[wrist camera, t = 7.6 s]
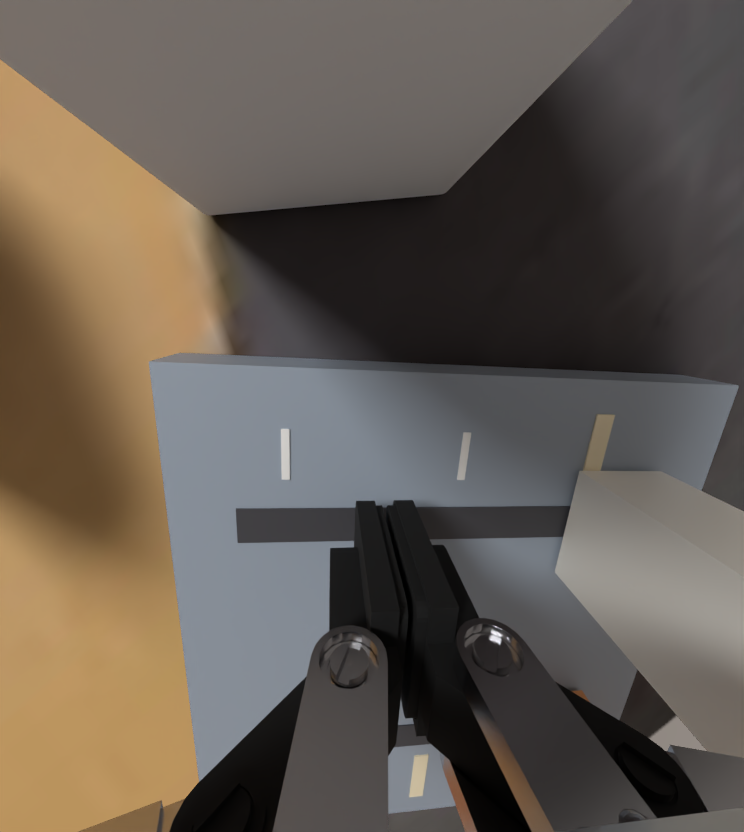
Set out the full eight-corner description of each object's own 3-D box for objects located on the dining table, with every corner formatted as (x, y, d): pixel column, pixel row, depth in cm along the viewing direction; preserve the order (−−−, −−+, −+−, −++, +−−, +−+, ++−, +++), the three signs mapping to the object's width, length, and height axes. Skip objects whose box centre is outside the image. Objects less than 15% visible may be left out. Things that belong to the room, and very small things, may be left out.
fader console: (179, 352, 11) (147, 361, 9) (680, 374, 13) (741, 385, 11) (219, 775, 17) (204, 836, 15) (568, 741, 19) (595, 791, 17)
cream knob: (579, 470, 12) (831, 633, 6) (660, 471, 12) (976, 625, 6) (554, 571, 13) (744, 795, 7) (629, 569, 13) (871, 780, 7)
